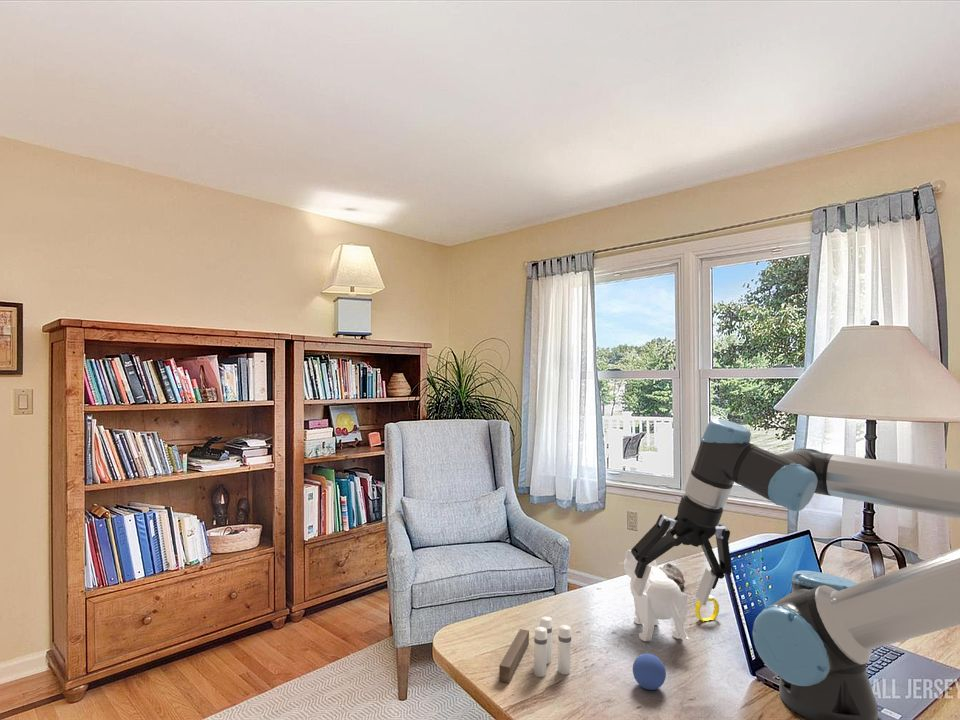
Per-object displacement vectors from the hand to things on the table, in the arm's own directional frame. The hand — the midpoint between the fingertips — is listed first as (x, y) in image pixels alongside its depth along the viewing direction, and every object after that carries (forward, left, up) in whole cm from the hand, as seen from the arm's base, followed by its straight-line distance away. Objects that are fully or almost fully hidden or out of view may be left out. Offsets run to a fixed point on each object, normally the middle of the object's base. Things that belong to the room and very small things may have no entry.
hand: (669, 596), depth 111 cm
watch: (+9, -29, -16) cm, 35 cm away
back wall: (+21, +22, -15) cm, 34 cm away
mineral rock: (+28, -40, -16) cm, 51 cm away
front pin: (+13, +16, -15) cm, 25 cm away
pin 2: (+15, +20, -15) cm, 29 cm away
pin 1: (+17, +16, -15) cm, 28 cm away
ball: (-1, +7, -12) cm, 14 cm away
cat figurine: (+12, -13, -16) cm, 24 cm away
